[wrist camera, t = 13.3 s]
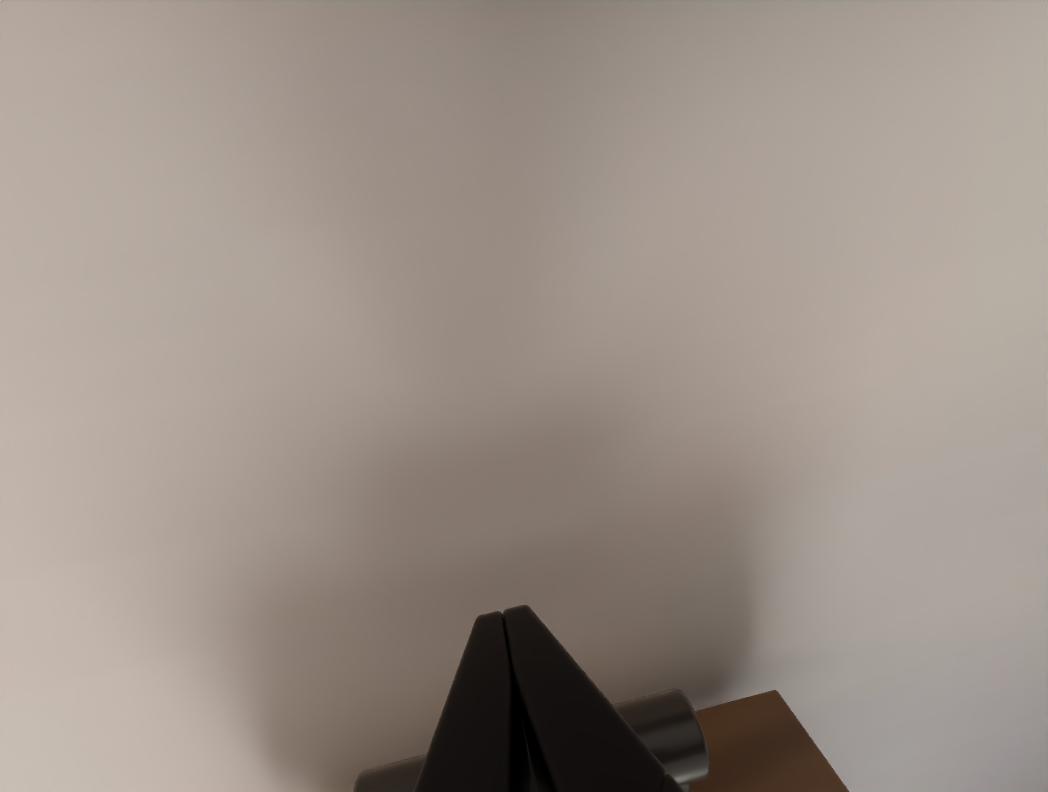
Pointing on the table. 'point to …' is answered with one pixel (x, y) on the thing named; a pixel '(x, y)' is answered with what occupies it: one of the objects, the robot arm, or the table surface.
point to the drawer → (696, 747)
